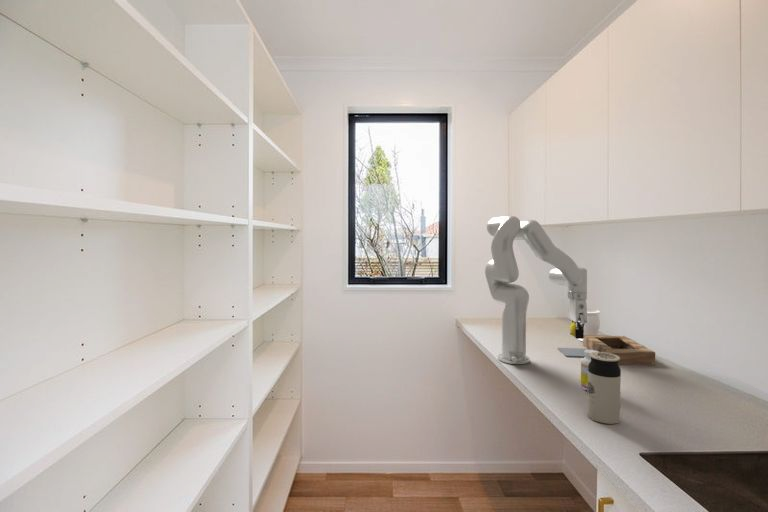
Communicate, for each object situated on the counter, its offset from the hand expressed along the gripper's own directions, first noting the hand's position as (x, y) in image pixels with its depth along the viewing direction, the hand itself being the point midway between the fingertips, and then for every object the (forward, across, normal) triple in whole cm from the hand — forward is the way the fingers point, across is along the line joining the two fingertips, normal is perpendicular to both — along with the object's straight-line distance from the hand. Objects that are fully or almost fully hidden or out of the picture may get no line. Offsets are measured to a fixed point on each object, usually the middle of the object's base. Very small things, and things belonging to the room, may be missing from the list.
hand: (576, 336), depth 172 cm
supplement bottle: (+7, -42, +9) cm, 44 cm away
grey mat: (+8, 0, 0) cm, 8 cm away
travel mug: (+7, -64, +14) cm, 66 cm away
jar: (+8, +23, -13) cm, 27 cm away
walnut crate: (+8, 0, -16) cm, 18 cm away
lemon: (+1, 0, 0) cm, 1 cm away
